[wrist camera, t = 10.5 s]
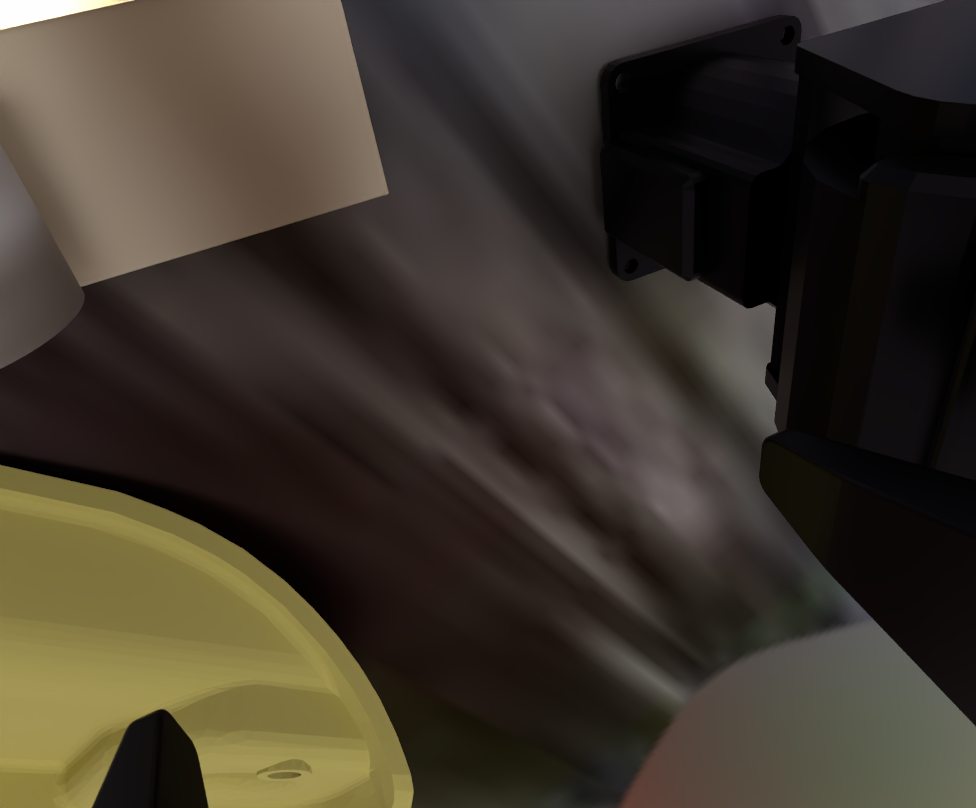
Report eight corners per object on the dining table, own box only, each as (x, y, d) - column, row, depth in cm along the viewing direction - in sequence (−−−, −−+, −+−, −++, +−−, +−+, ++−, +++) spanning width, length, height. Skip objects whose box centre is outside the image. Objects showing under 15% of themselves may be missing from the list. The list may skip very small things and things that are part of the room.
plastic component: (-526, 870, 16) (-733, 780, 10) (-325, 567, 20) (-383, 377, 14) (296, 854, 26) (444, 804, 20) (310, 653, 31) (435, 563, 24)
